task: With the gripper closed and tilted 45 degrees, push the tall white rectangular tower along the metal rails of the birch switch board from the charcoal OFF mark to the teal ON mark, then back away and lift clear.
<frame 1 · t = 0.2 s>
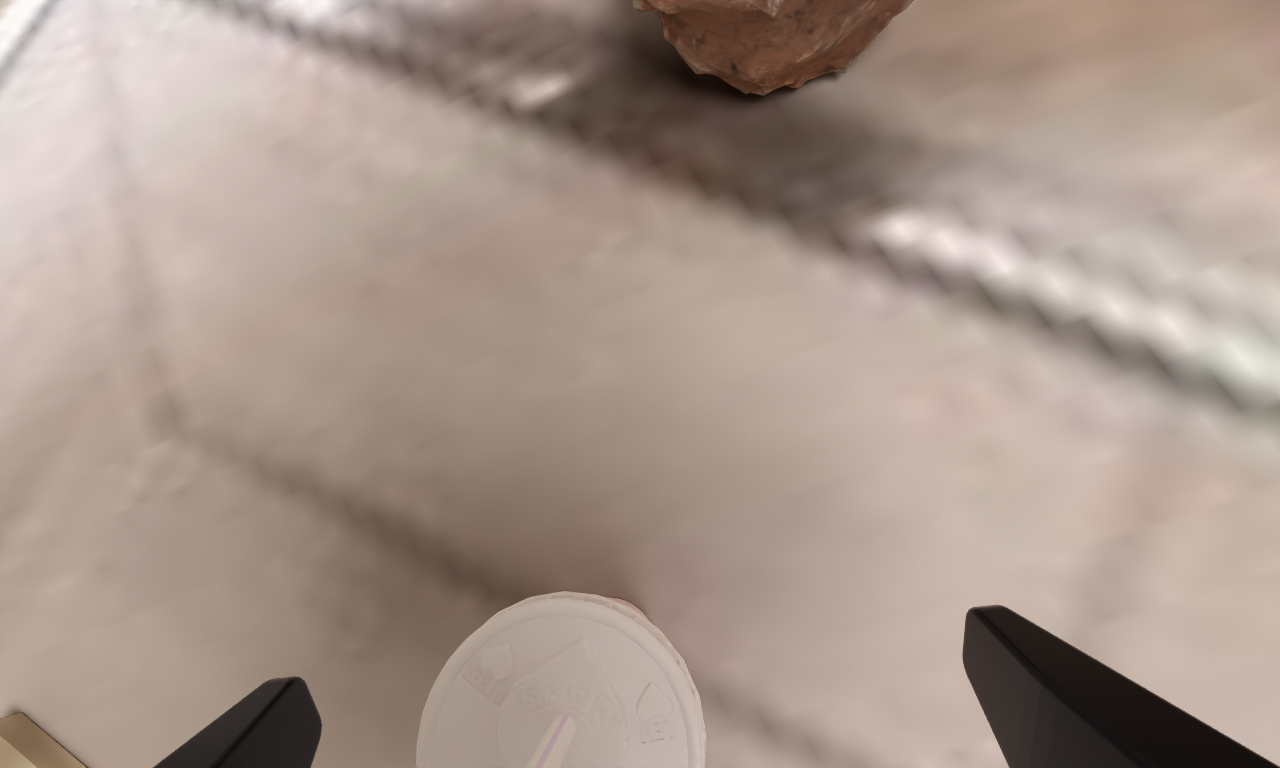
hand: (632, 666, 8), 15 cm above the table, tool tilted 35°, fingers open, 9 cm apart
smoothie: (608, 648, 22), on the table
decorative rock: (763, 18, 28), on the table
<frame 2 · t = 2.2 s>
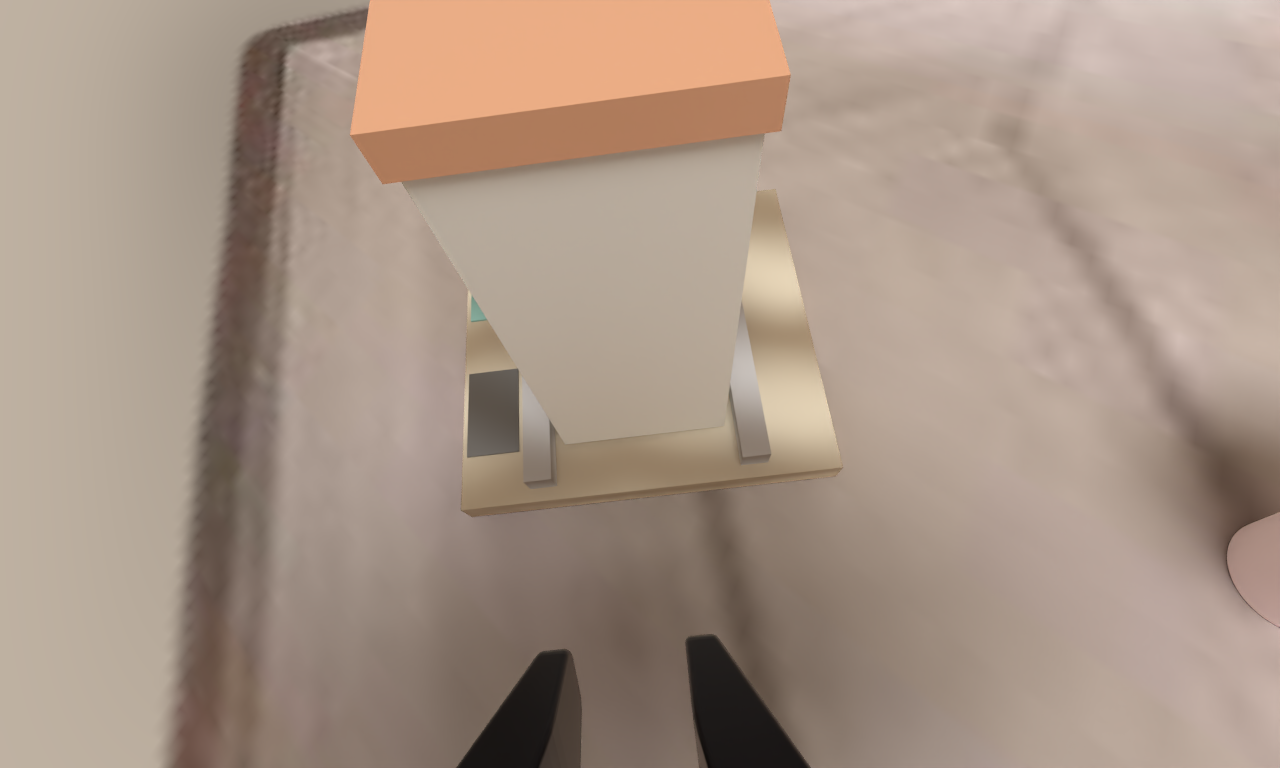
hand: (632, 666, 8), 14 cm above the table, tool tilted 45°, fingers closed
white rectangular tower: (616, 276, 16), point 9 cm above the table, slide at 0.0 cm
switch base: (636, 347, 25), on the table
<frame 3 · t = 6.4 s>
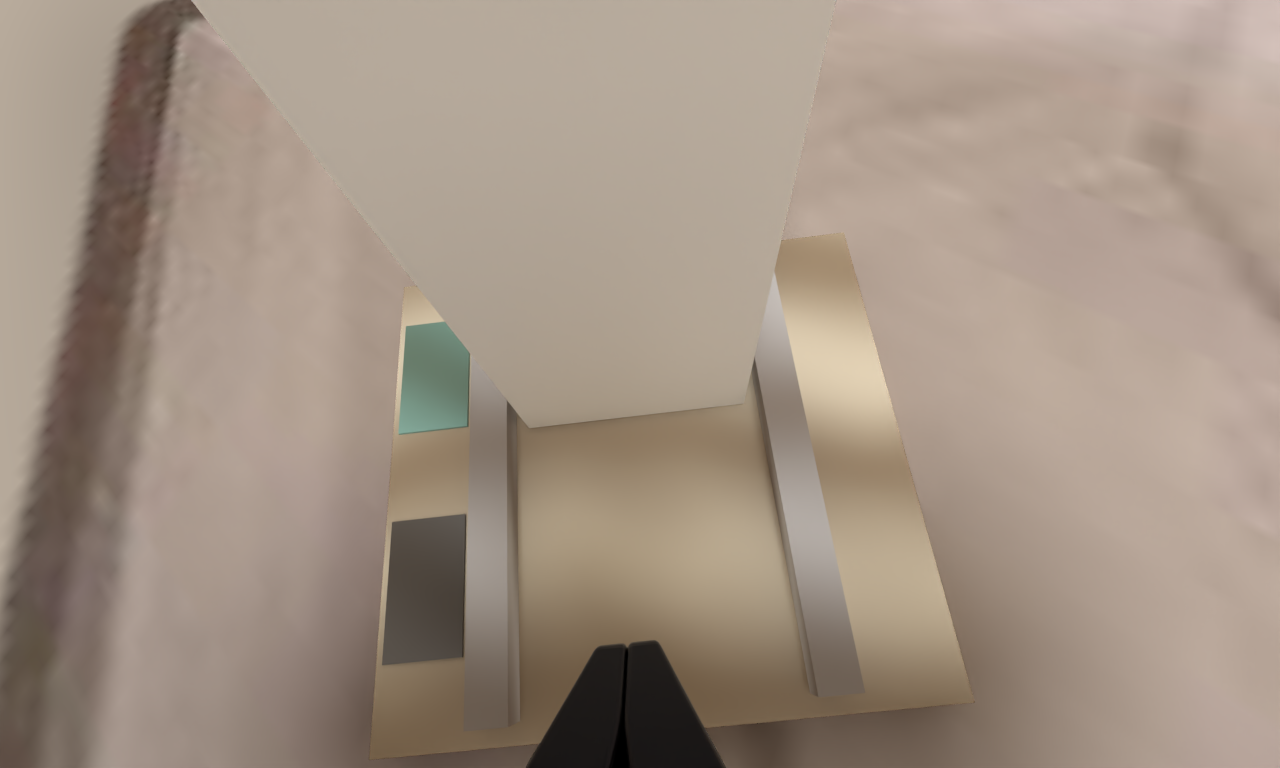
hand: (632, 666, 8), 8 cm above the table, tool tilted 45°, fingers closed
white rectangular tower: (588, 164, 10), point 9 cm above the table, slide at 5.7 cm
switch base: (643, 470, 17), on the table
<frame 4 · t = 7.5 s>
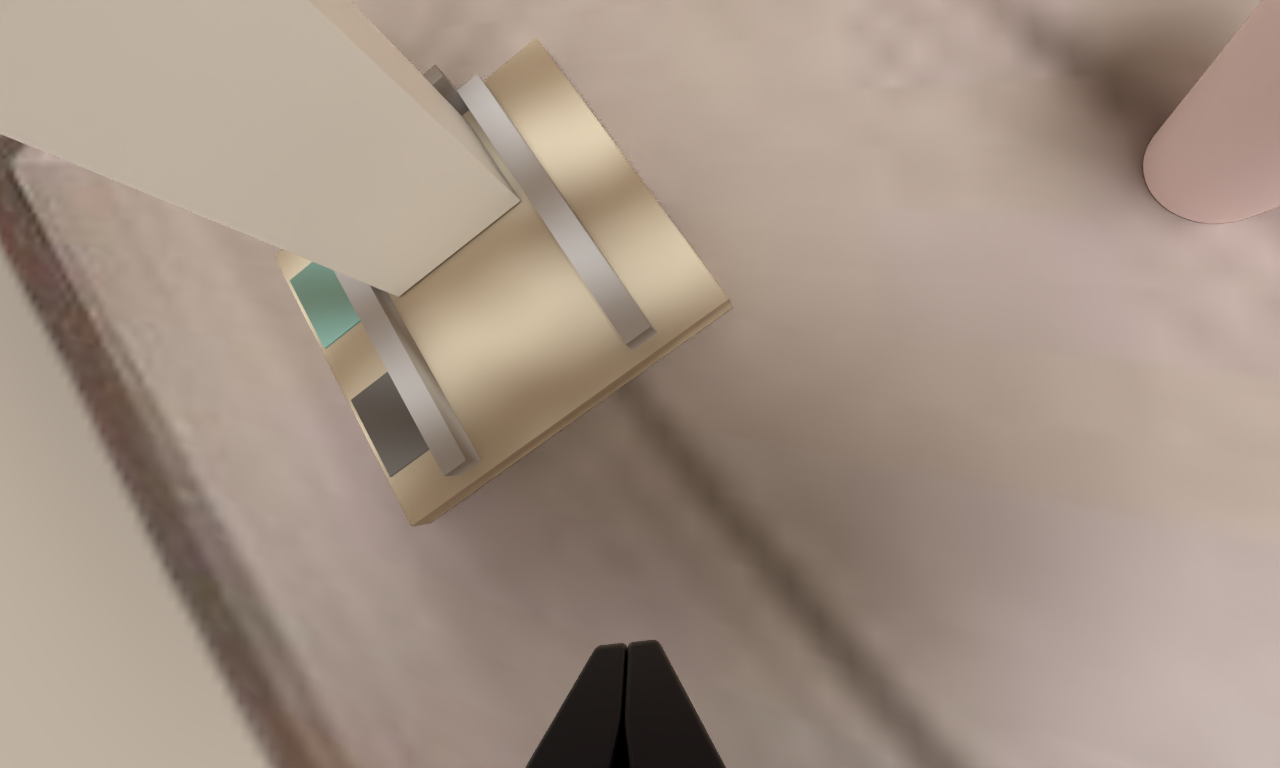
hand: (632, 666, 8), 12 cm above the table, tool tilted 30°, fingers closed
smoothie: (1210, 167, 18), on the table
white rectangular tower: (268, 96, 16), point 9 cm above the table, slide at 5.7 cm
switch base: (491, 284, 23), on the table
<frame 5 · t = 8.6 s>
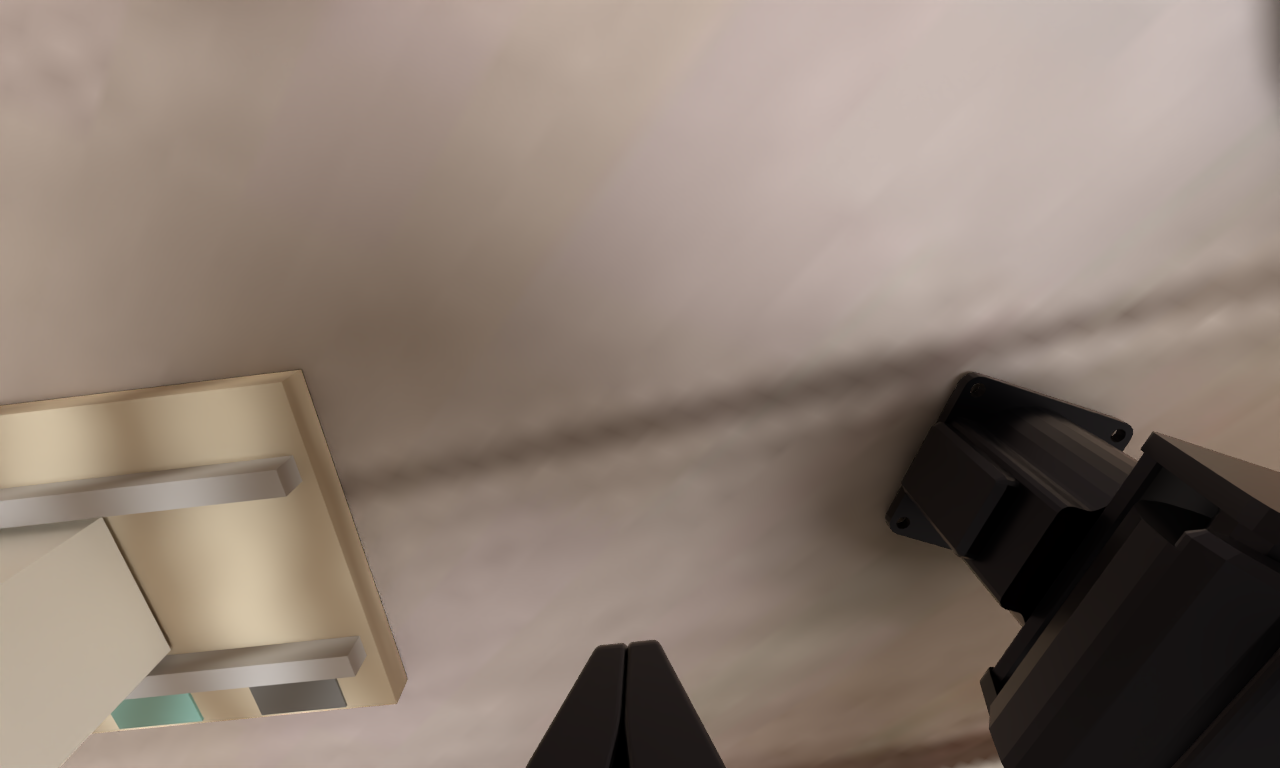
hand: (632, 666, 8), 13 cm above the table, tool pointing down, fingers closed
switch base: (195, 559, 23), on the table
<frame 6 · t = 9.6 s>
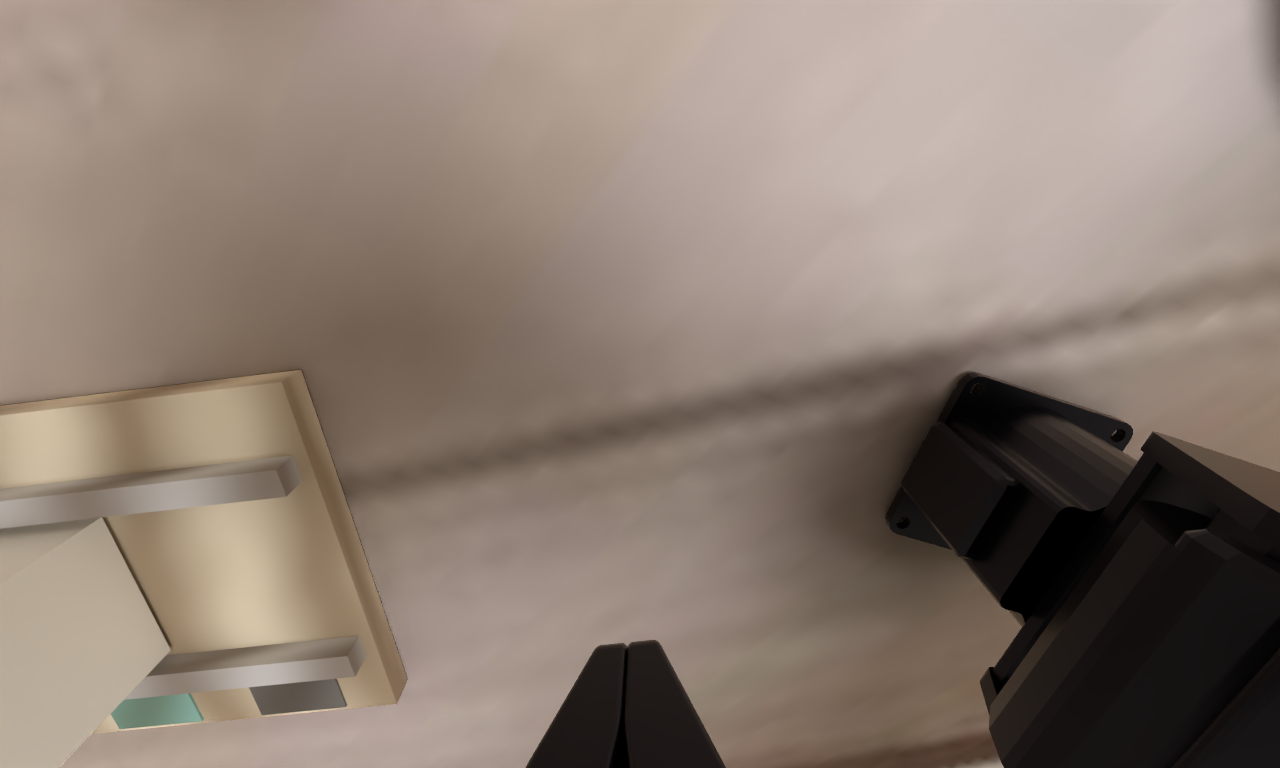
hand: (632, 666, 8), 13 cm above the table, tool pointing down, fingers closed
switch base: (195, 559, 23), on the table
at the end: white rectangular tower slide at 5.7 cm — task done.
